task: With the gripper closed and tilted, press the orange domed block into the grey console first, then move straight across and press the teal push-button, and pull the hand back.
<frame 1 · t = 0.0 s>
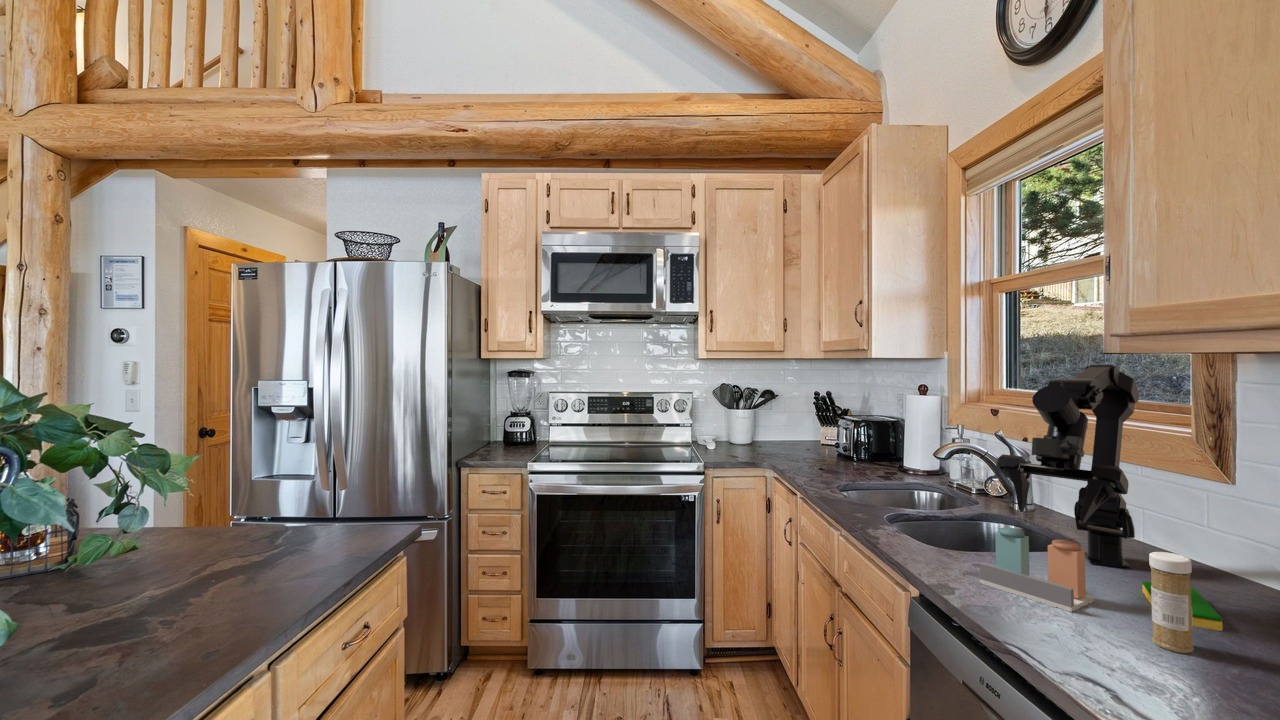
hand: (1050, 516, 99), 15 cm above the countertop, tool tilted 35°, fingers open, 9 cm apart
sprinkles bottle: (1172, 647, 82), on the countertop
button teal: (1012, 553, 107), point 6 cm above the countertop, slide at 0.0 cm
button console: (1042, 588, 104), on the countertop
dish sponge: (1179, 613, 94), on the countertop
orange domed block: (1066, 567, 99), point 6 cm above the countertop, slide at 0.0 cm
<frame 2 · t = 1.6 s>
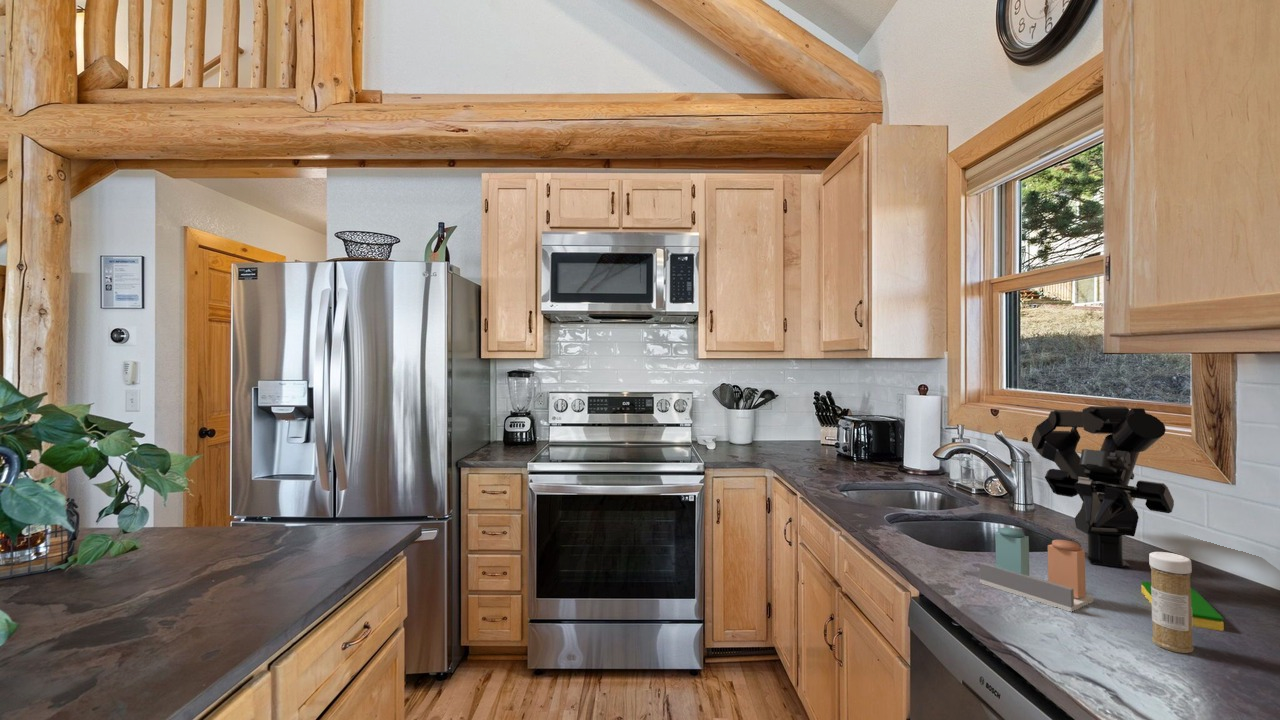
hand: (1092, 524, 105), 12 cm above the countertop, tool tilted 45°, fingers closed
nothing on the countertop moved.
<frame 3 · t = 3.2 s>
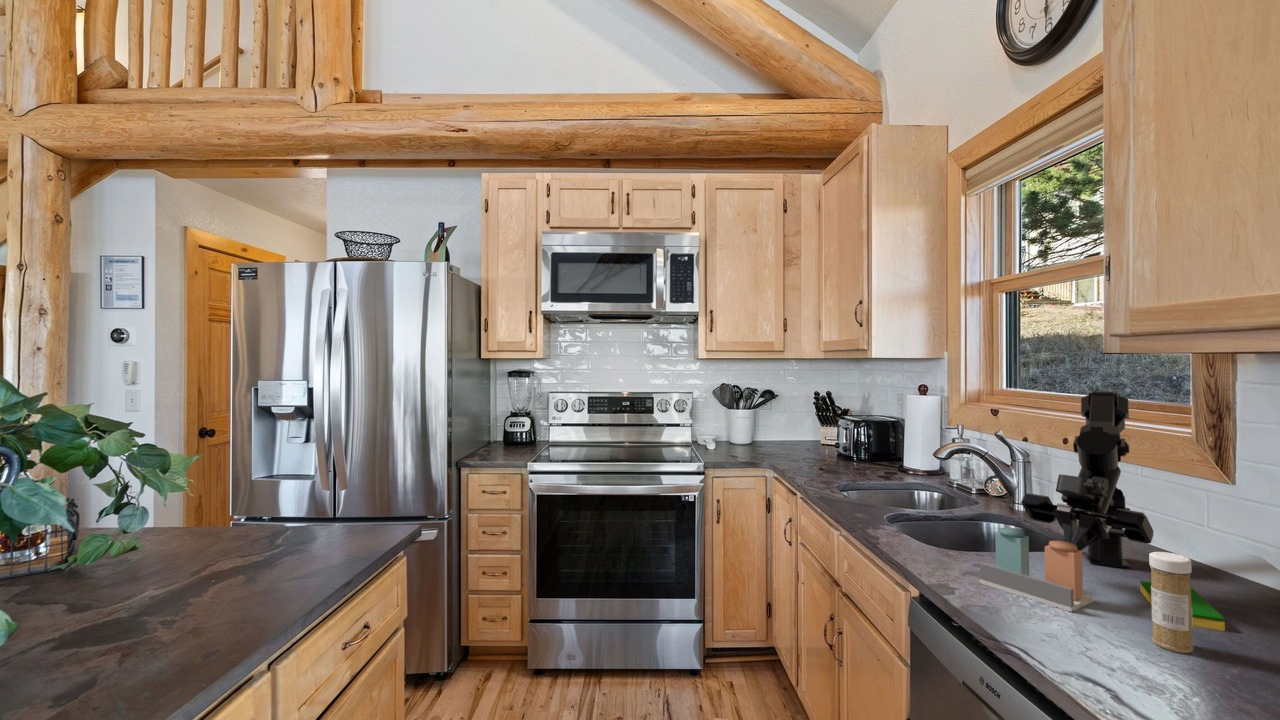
hand: (1068, 554, 100), 8 cm above the countertop, tool tilted 45°, fingers closed
orange domed block: (1063, 568, 99), point 6 cm above the countertop, slide at 1.1 cm, touching gripper
everything else where it was.
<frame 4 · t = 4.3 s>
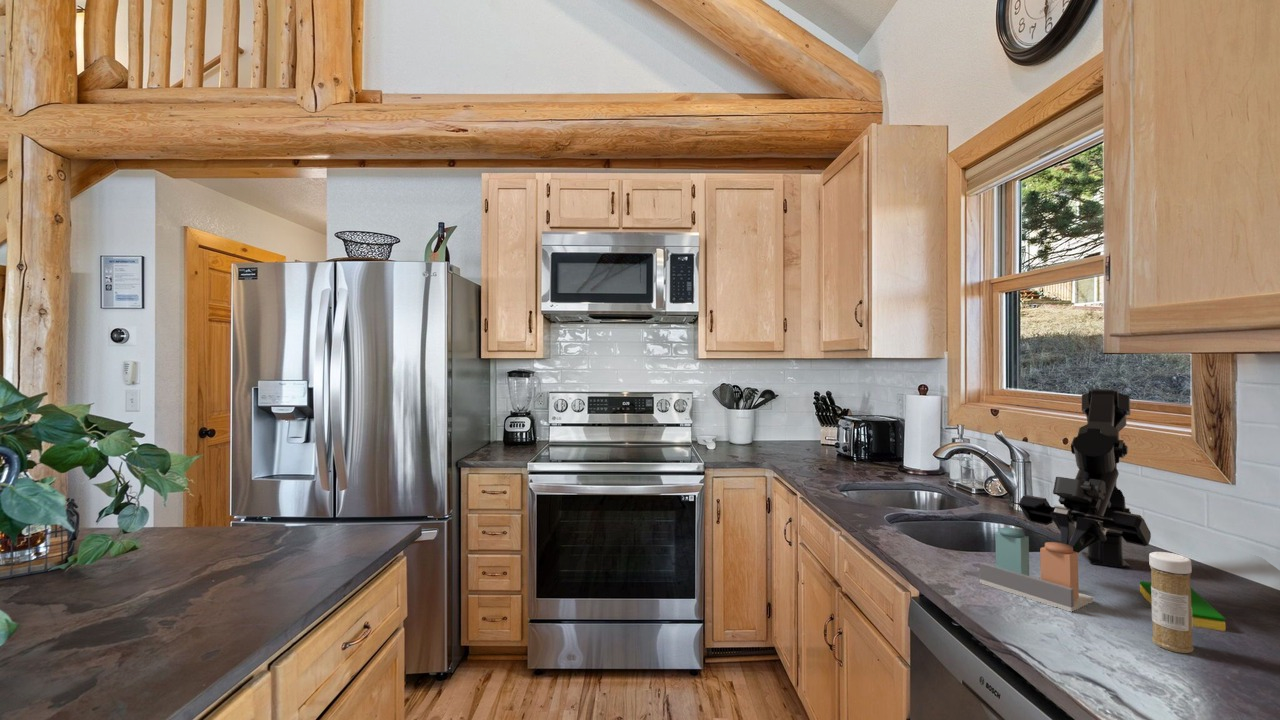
hand: (1065, 556, 99), 7 cm above the countertop, tool tilted 45°, fingers closed
orange domed block: (1059, 570, 98), point 6 cm above the countertop, slide at 2.7 cm
everything else where it was.
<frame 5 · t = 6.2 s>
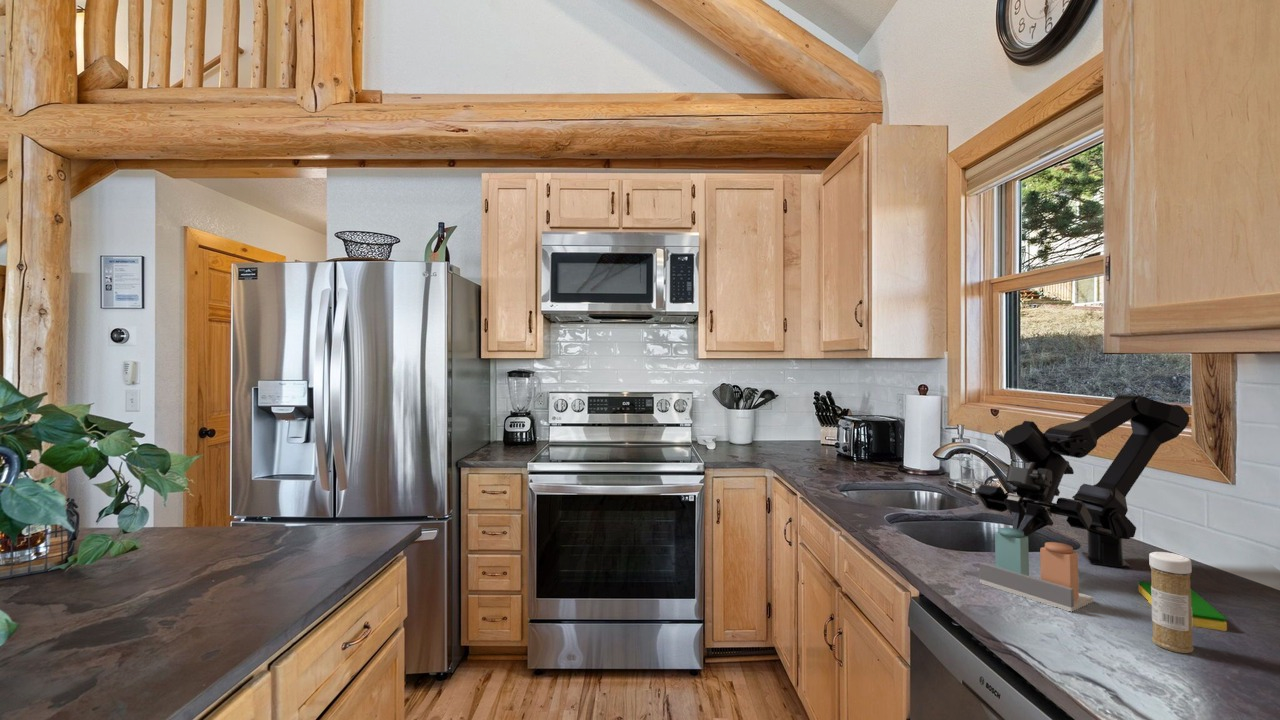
hand: (1015, 539, 108), 8 cm above the countertop, tool tilted 45°, fingers closed
button teal: (1011, 553, 107), point 6 cm above the countertop, slide at 0.2 cm, touching gripper
everything else where it was.
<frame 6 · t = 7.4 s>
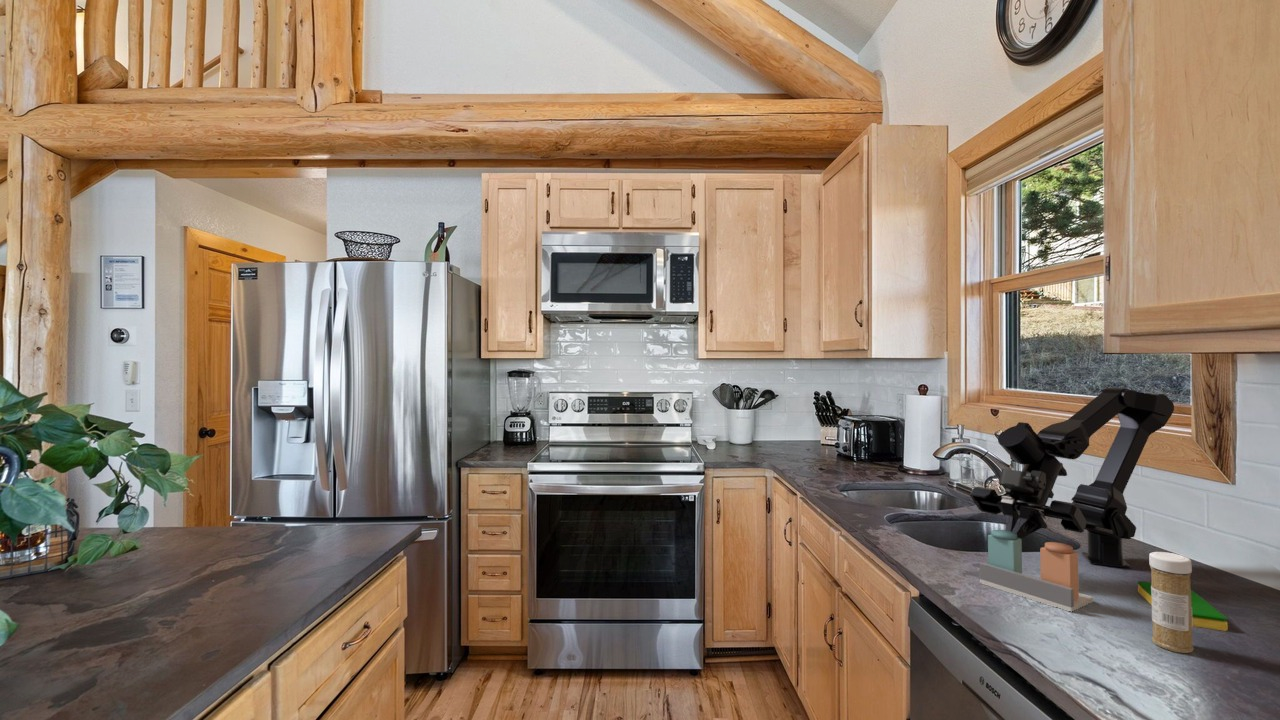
hand: (1009, 543, 107), 8 cm above the countertop, tool tilted 45°, fingers closed
button teal: (1004, 555, 106), point 6 cm above the countertop, slide at 2.7 cm
everything else where it was.
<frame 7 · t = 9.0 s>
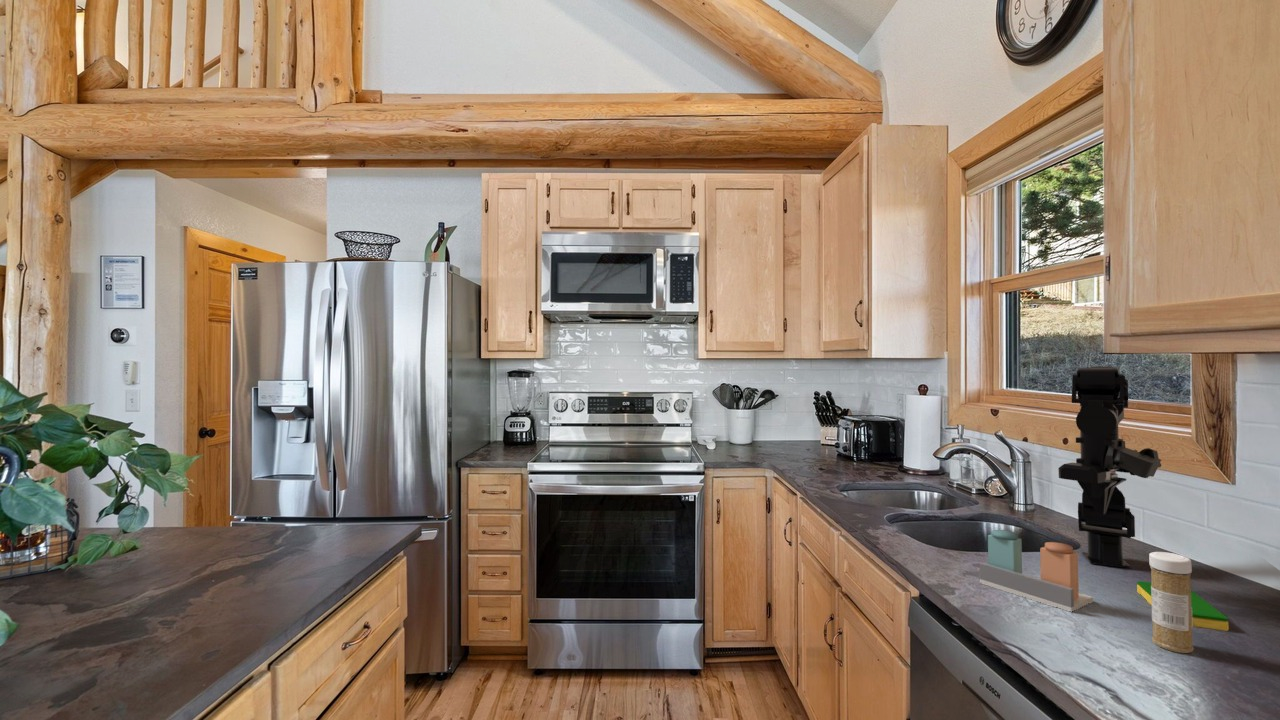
hand: (1101, 514, 107), 13 cm above the countertop, tool pointing down, fingers closed
nothing on the countertop moved.
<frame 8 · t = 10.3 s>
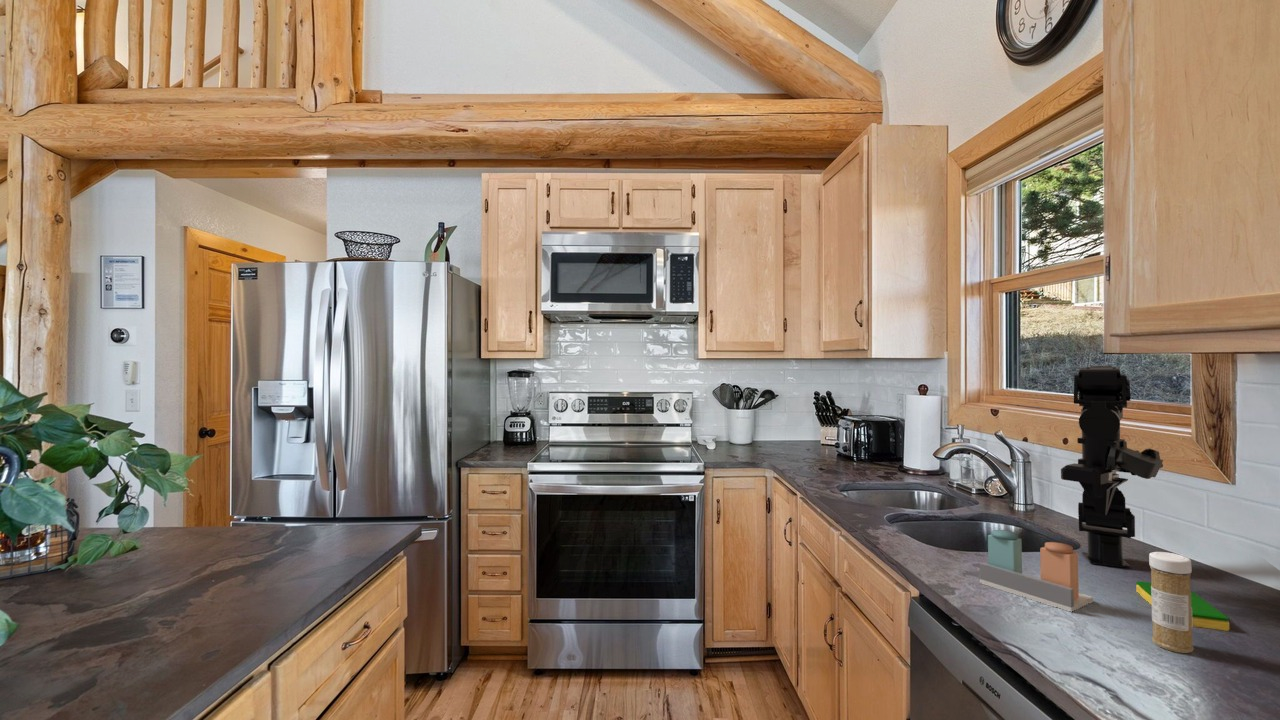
hand: (1102, 514, 106), 13 cm above the countertop, tool pointing down, fingers closed
nothing on the countertop moved.
at the end: orange domed block slide at 2.7 cm; button teal slide at 2.7 cm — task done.
